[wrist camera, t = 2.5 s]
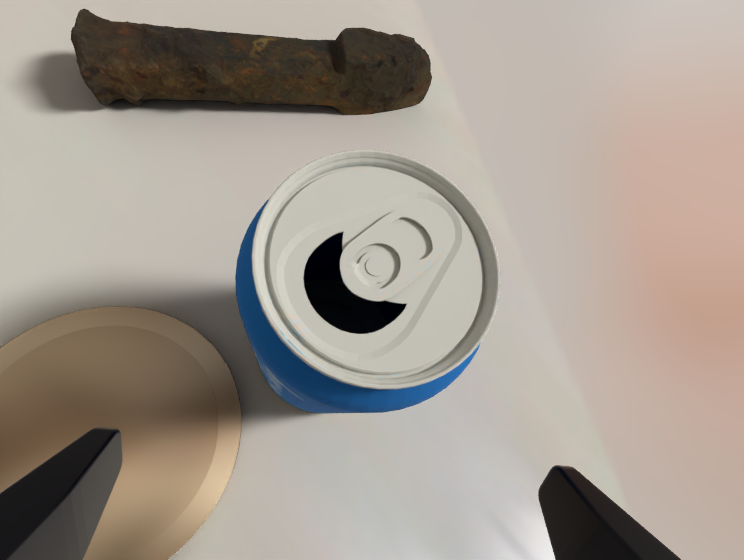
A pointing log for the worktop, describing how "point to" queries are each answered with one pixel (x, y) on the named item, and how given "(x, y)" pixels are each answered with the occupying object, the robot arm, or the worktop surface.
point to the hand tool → (250, 66)
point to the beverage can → (366, 283)
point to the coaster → (125, 419)
